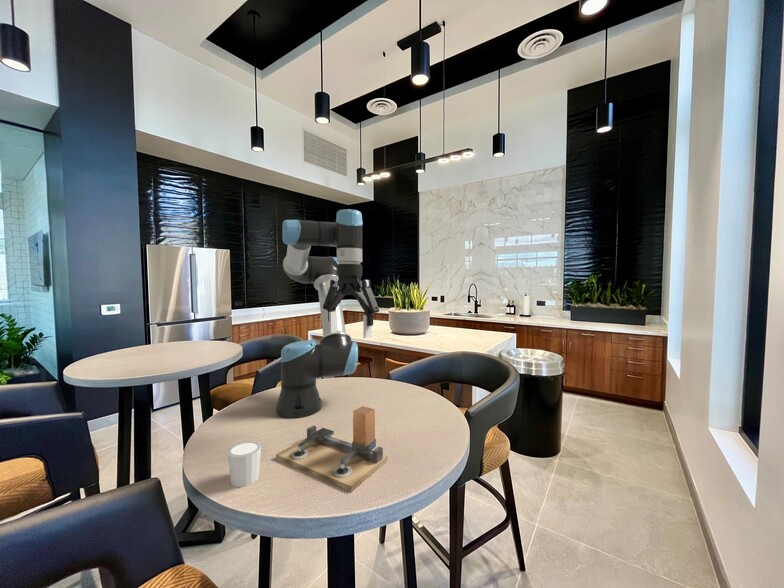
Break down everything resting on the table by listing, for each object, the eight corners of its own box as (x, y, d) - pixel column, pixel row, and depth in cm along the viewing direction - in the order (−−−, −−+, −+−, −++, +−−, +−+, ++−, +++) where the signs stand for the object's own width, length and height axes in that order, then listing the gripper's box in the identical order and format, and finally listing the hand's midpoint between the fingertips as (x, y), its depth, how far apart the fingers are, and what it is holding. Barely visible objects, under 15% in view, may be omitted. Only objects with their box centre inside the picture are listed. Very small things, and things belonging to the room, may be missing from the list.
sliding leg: (334, 468, 72) (334, 420, 72) (363, 447, 81) (362, 405, 81) (348, 473, 70) (347, 424, 70) (376, 452, 79) (375, 408, 79)
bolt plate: (276, 459, 79) (276, 443, 79) (317, 436, 91) (317, 422, 91) (351, 492, 66) (351, 473, 66) (387, 460, 78) (387, 444, 78)
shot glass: (235, 471, 74) (235, 441, 74) (265, 469, 74) (265, 440, 74) (222, 490, 67) (221, 457, 67) (255, 488, 68) (255, 455, 67)
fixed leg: (292, 451, 79) (292, 443, 79) (323, 434, 88) (322, 427, 88) (303, 455, 77) (303, 448, 77) (333, 438, 86) (333, 431, 86)
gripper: (311, 264, 98) (311, 332, 99) (375, 261, 84) (375, 341, 85) (328, 264, 104) (329, 329, 105) (391, 263, 90) (391, 337, 91)
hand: (349, 334), depth 95 cm, fingers open, 13 cm apart
